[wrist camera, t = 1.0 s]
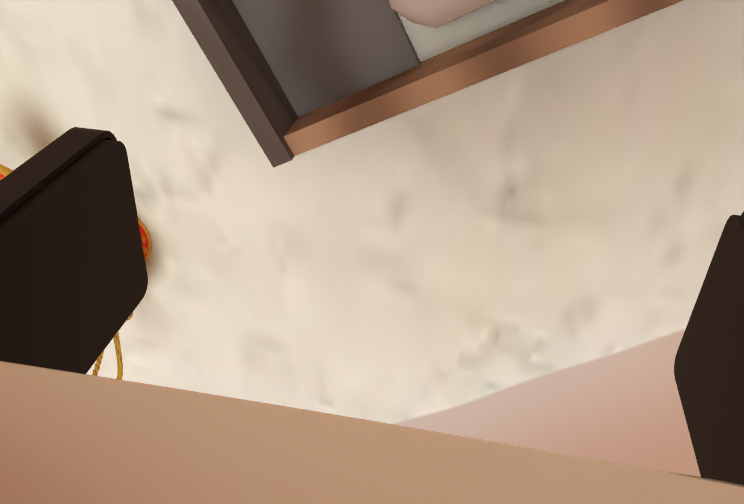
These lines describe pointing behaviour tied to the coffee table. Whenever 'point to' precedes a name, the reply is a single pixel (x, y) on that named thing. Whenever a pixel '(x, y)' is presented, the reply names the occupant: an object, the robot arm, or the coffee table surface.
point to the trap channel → (363, 60)
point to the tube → (435, 10)
